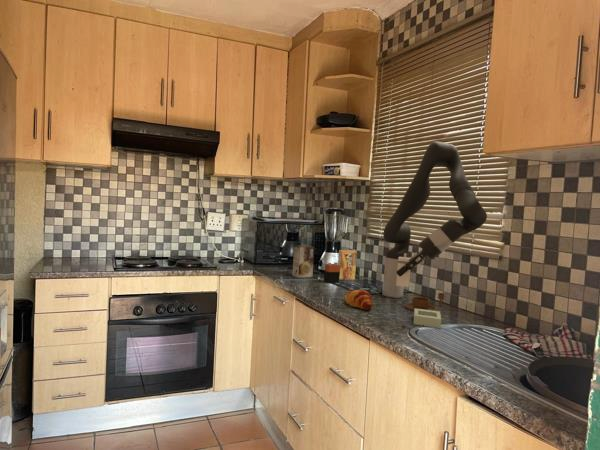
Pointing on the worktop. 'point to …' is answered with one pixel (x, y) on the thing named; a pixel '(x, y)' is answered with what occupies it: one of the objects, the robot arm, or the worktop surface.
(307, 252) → the coffee box
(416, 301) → the place setting
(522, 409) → the worktop surface
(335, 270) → the battery
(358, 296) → the croissant
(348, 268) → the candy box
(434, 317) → the green rectangular tray
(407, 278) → the block
